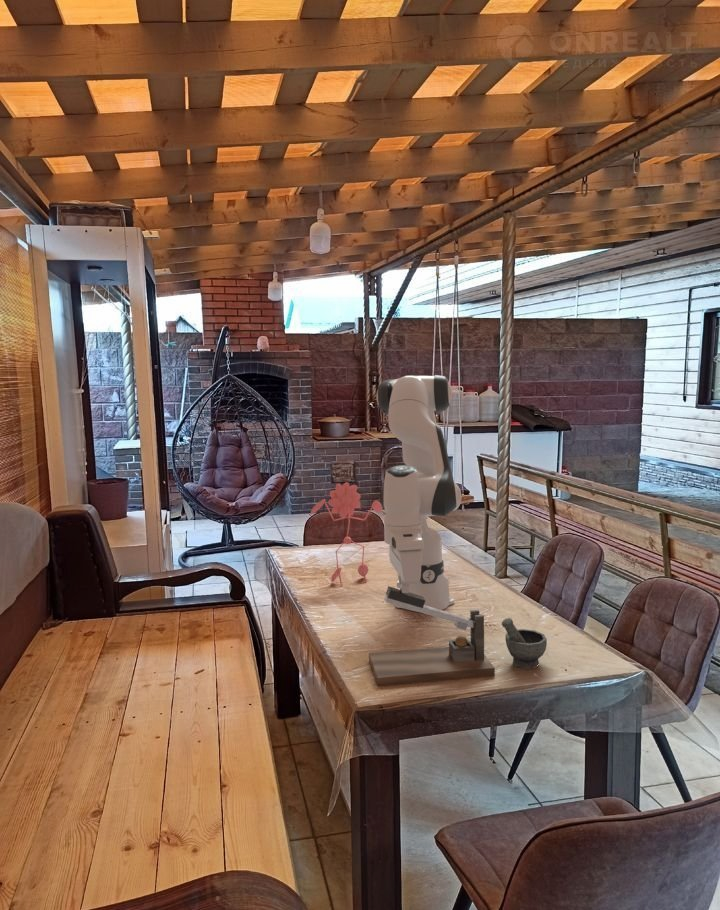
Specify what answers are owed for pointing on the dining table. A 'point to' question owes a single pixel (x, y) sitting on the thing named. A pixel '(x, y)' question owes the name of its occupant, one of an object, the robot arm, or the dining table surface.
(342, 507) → the figurine
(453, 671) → the press base
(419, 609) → the lever
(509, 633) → the mortar and pestle
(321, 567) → the dining table surface
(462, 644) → the nut
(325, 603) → the dining table surface
